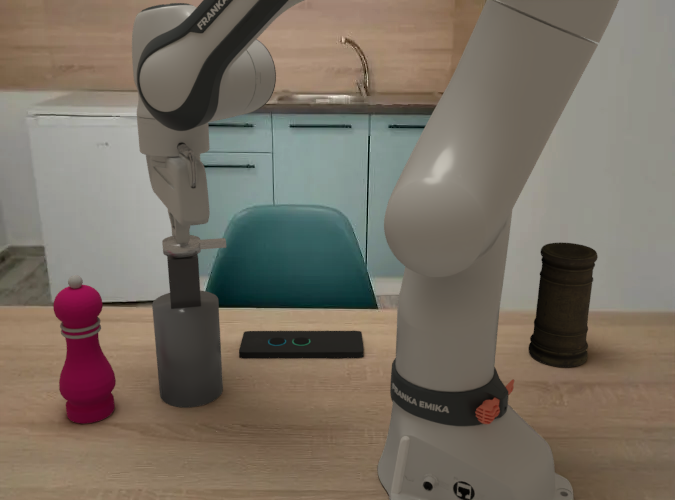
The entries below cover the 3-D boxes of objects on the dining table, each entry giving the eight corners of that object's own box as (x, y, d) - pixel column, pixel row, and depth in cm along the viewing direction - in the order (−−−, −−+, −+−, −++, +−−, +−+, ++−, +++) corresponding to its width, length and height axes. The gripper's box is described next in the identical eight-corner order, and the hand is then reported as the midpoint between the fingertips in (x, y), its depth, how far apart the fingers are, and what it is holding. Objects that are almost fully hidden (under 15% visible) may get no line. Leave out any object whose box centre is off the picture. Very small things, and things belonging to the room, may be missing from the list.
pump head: (226, 289, 100) (223, 232, 97) (229, 302, 95) (227, 242, 93) (166, 294, 98) (162, 236, 95) (167, 307, 93) (162, 247, 91)
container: (598, 362, 110) (613, 255, 104) (552, 372, 107) (564, 262, 101) (561, 339, 118) (573, 238, 112) (517, 347, 115) (527, 244, 109)
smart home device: (244, 329, 118) (361, 329, 118) (244, 338, 118) (361, 338, 119) (238, 351, 110) (364, 351, 110) (238, 361, 111) (363, 361, 111)
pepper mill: (126, 399, 99) (113, 267, 92) (105, 427, 92) (89, 286, 85) (77, 396, 99) (61, 264, 93) (53, 424, 92) (33, 284, 86)
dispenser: (220, 372, 106) (213, 242, 99) (225, 403, 98) (218, 262, 91) (159, 379, 104) (148, 246, 97) (160, 411, 96) (147, 268, 89)
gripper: (219, 149, 81) (224, 260, 86) (181, 125, 99) (187, 218, 103) (165, 153, 79) (173, 267, 83) (136, 127, 97) (144, 223, 101)
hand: (181, 240), depth 94 cm, fingers closed, pressing on pump head
